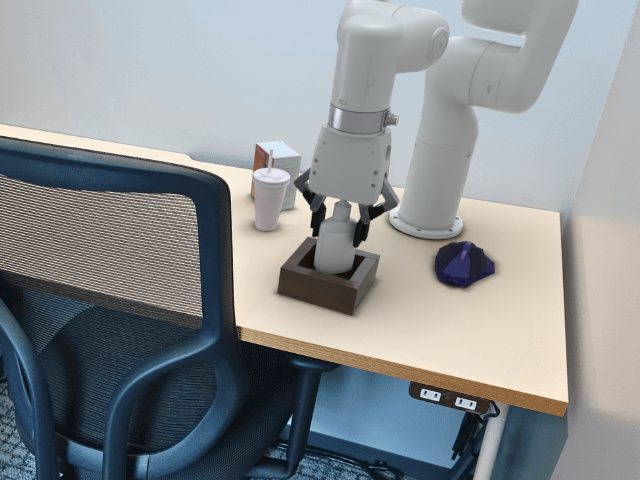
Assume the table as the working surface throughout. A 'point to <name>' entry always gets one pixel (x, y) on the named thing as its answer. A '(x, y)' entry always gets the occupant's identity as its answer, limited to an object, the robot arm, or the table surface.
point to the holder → (327, 279)
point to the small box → (279, 166)
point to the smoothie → (269, 195)
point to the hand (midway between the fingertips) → (337, 237)
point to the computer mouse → (462, 264)
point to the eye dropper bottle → (336, 241)
